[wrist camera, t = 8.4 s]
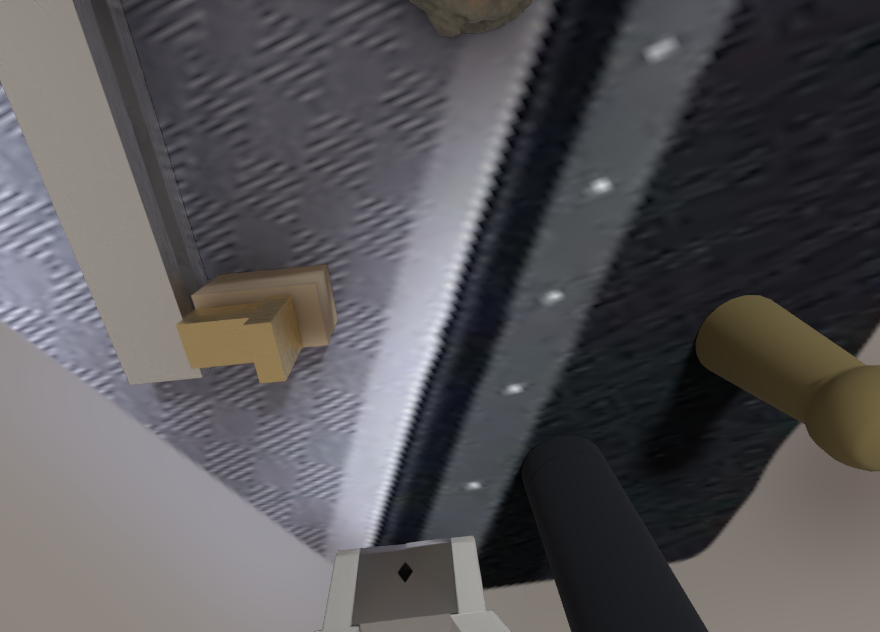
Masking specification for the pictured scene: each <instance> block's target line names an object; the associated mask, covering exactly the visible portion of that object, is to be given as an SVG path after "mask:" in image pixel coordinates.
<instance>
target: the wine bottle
mask: <svg viewBox="0 0 880 632" xmlns="http://www.w3.org/2000/svg"><path fill="white" fill-rule="evenodd" d="M521 475H522V480H523V484H524V487H525V490H526V493H527V496H528V499H529V502H530V505H531V509H532V512H533V515H534V518H535V521H536V524H537V527H538V530H539V533H540V536H541V539H542V543H543V546H544V549H545V552H546V555H547V558H548V561H549V564H550V567H551V570H552V573H553V576H554V580H555V583H556V586H557V588H558V592H559V595H560V598H561V601H562V604H563V607H564V610H565V614H566V617H567V620H568V623H569V626H570V629H571V632H708V630H707V628H706V627H705V625H704V623H703V622H702V620H701V618H700V617H699V615H698V613H697V612H696V610H695V608H694V607H693V605H692V603H691V602H690V600H689V598H688V597H687V595H686V593H685V592H684V590H683V588H682V587H681V585H680V583H679V582H678V580H677V578H676V577H675V575H674V573H673V572H672V570H671V568H670V567H669V565H668V563H667V562H666V560H665V558H664V557H663V555H662V553H661V552H660V550H659V548H658V546H657V545H656V543H655V541H654V540H653V538H652V536H651V535H650V533H649V531H648V530H647V528H646V526H645V525H644V523H643V521H642V520H641V518H640V516H639V515H638V513H637V511H636V510H635V508H634V506H633V505H632V503H631V501H630V500H629V498H628V496H627V495H626V493H625V491H624V490H623V488H622V486H621V485H620V483H619V481H618V480H617V478H616V476H615V475H614V473H613V471H612V470H611V468H610V466H609V465H608V463H607V461H606V460H605V458H604V456H603V455H602V453H601V451H600V450H599V448H598V446H597V445H595V444H594V443H593V442H591V441H590V440H589V439H586V438H583V437H580V436H576V435H562V436H558V437H554V438H550V439H548V440H546V441H544V442H542V443H540V444H539V445H537V446H536V447H535V448H534V449H533V450H532V451H531V452H530V453H529V454H528V456H527V457H526V459H525V461H524V463H523V466H522V472H521Z"/></svg>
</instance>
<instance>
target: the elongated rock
mask: <svg viewBox="0 0 880 632" xmlns="http://www.w3.org/2000/svg"><path fill="white" fill-rule="evenodd" d="M409 2H410V3H411V4H414V5H416V6H417V7H418V8H419V9H422V10H424V11H425V12H426V14H427V16H428V19H429V20H430V22H431V24H432V26H433V27H434V28H435V29H436V31H437V32H438V34H439V35H441V36H445V37H455V36H456V35H459V34H460V33H461V32H464V33H470V34H472V33H478V32H486V31H490V30H492V29H496V28H499V27H501V26H503V25H504V24H505V23H506V22H508V21H511V20H514V19H515V18H516V17H517V16H518V15H519V14H520V13H522V12H523V11H524V10H525V8H527V7H528V6H529V5H530V4H531V2H532V0H409Z"/></svg>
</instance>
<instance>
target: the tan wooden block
mask: <svg viewBox="0 0 880 632" xmlns="http://www.w3.org/2000/svg"><path fill="white" fill-rule="evenodd" d="M286 294H291V295H292V299H293V303H294V307H295V312H296V316H297V320H298V325H299V329H300V333H301V338H302V342H303V347H302V348H304V347H313V346H323V345H328V343H329V341H330V338H331V336H332V333H333V330H334V328H335V325H336V323H337V320H338V318H337V312H336V307H335V302H334V297H333V291H332V286H331V281H330V276H329V270H328V265H327V264H325V265H315V266H304V267H294V268H283V269H273V270H262V271H252V272H241V273H231V274H221V275H218V276H217V277H216V278H214V279H213V280H211V281H210V282H209V283H207V284H206V285H205V286H203V287H202V288H201V289H199V290H198V291H197V292H195V293H194V294H193V295H191V297H192V300H193V303H194V306H195V309H199V308H210V307H220V306H230V305H240V304H251V303H261V302H263V301H264V300H265V299H266V298H267V297H268V296H276V295H286Z"/></svg>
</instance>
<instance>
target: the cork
mask: <svg viewBox="0 0 880 632" xmlns="http://www.w3.org/2000/svg"><path fill="white" fill-rule="evenodd" d="M696 355H697V357H698V359H699V361H700V363H701V364H702V365H703V366H704V367H706V368H707V369H708V370H709V371H711V372H713V373H715V374H716V375H718V376H720V377H722V378H724V379H725V380H727V381H729V382H731V383H733V384H734V385H736V386H738V387H740V388H741V389H743V390H745V391H747V392H749V393H750V394H752V395H754V396H756V397H757V398H759V399H761V400H763V401H765V402H766V403H768V404H770V405H772V406H774V407H775V408H777V409H779V410H781V411H782V412H784V413H786V414H788V415H790V416H791V417H793V418H795V419H797V420H799V421H800V422H802V423H804V424H805V425H806V428H807V431H808V433H809V435H810V437H811V438H812V439H813V440H814V441H815V443H816V444H817V445H818V446H819V447H820V448H821V449H823V450H824V451H825V452H826V453H828V454H829V455H830V456H831V457H833V458H834V459H835V460H837V461H839V462H841V463H844V464H845V465H848V466H851V467H854V468H858V469H862V470H867V471H880V366H867V365H865V364H864V363H862V362H861V361H859V360H858V359H857V358H855V357H854V356H852V355H851V354H849V353H848V352H846V351H845V350H843V349H842V348H841V347H839V346H838V345H836V344H835V343H833V342H832V341H830V340H829V339H827V338H826V337H824V336H823V335H822V334H820V333H819V332H817V331H816V330H814V329H813V328H811V327H810V326H808V325H807V324H806V323H804V322H803V321H801V320H800V319H798V318H797V317H795V316H794V315H792V314H791V313H789V312H788V311H787V310H785V309H784V308H782V307H781V306H779V305H778V304H776V303H775V302H773V301H772V300H770V299H768V298H765V297H762V296H760V295H745V296H741V297H738V298H734V299H731V300H729V301H728V302H726V303H724V304H723V305H721V306H719V307H718V308H717V309H716V310H714V311H713V312H712V313H711V314H710V315H709V316H708V317H707V318H706V320H705V322H704V323H703V325H702V326H701V328H700V329H699V332H698V336H697V339H696Z"/></svg>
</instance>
